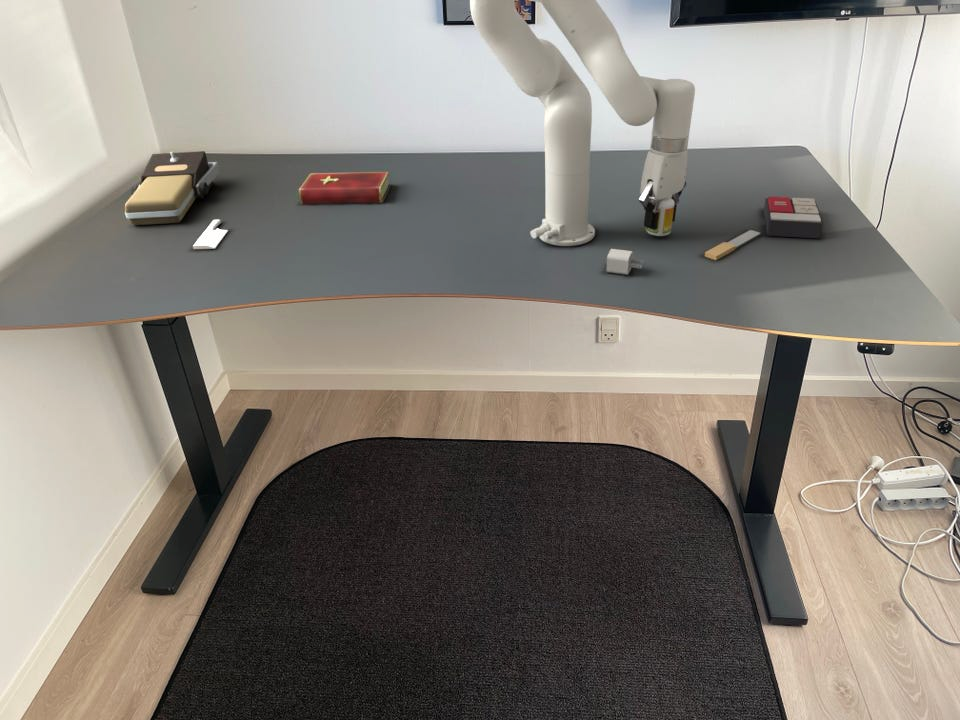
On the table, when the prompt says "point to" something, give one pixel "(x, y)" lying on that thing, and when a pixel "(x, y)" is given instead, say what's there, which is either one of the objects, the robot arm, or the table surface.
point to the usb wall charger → (621, 262)
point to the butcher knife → (210, 237)
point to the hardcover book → (344, 188)
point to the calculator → (792, 217)
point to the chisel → (731, 245)
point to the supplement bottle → (663, 217)
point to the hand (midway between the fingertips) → (659, 223)
